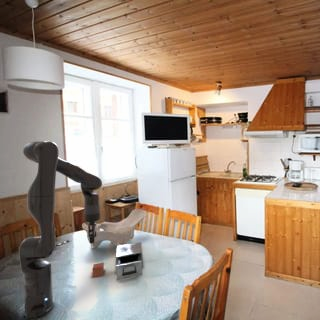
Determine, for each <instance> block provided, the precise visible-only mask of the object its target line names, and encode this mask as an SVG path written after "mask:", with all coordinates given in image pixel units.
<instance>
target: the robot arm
mask: <svg viewBox="0 0 320 320" xmlns="http://www.w3.org/2000/svg"><path fill="white" fill-rule="evenodd" d="M22 152H23V153H22V154H23V156H24V157H25V158H26V159H27V160H29V161H32V162H34V163H36V164H37V173H36V176H35V177H34V180H33V181H32V182H31V184H30V186H29V189H28V190H27V195H26V208H27V211H28V212H29V214H30V215H31V217H32V218H33V220H34V221H35V222H36V224H37V226H38V228H39V232H40V236H29V237H25V238H24V239H23V240H22V241H21V243H20V245H19V248H18V258H19V263H20V264H19V265H20V266H19V267H20V272H21V274H22V277H23V278H22V279H23V300H24V302H23V303H24V317H25V318H26V319H25V320H29V319H33V318H34V320H38V317H41V316H45V315H46V314H47V313H48V312H49V311H51V309H53V307H54V299H53V298H54V297H53V275H52V273H53V271H52V263H51V262H49V261H47V260H44V259H48V258H50V257H52V256H53V254H54V252H55V249H56V241H55V234H56V232H55V228H56V227H55V203H56V179H57V172H58V174H60V175H63V176H65V177H66V178H68V179H70V180H72V181H73V182H75V183H78V184H80V189H81V192H82V195H83V198H84V205H83V206H84V207H83V216H84V219H83V220H84V223H88V224H87V226H88V236H89V238H90V243H94V237H96V230H97V229H96V228H97V224H98V221H100V220H101V206H100V194H99V193H97V192H95V191H97V190H99V189H101V188H102V186H103V181H102V179H101V178H100V177H98V176H97V175H95V174H92V173H90V172H87V171H86V170H84V169H83V168H81V166H79V165H77V164H75V163H72V162H70V161H67V160H65V159H62V158H60V157H59V155H60V150H59V147H58V145H57V144H56V143H55V142H54V141H51V140H38V141H37V140H36V141H29V142H28V143H26V144H25V145H24V147H23V149H22ZM54 227H55V228H54ZM90 233H92V234H90ZM90 243H89V244H90Z"/></svg>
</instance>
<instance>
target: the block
mask: <svg viewBox="0 0 320 320" xmlns="http://www.w3.org/2000/svg"><path fill="white" fill-rule="evenodd" d="M104 272H105V262H103V261H102V262H98V263H94V264H93V265H92V269H91V273H92V278H95V277H100V276H104Z"/></svg>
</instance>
